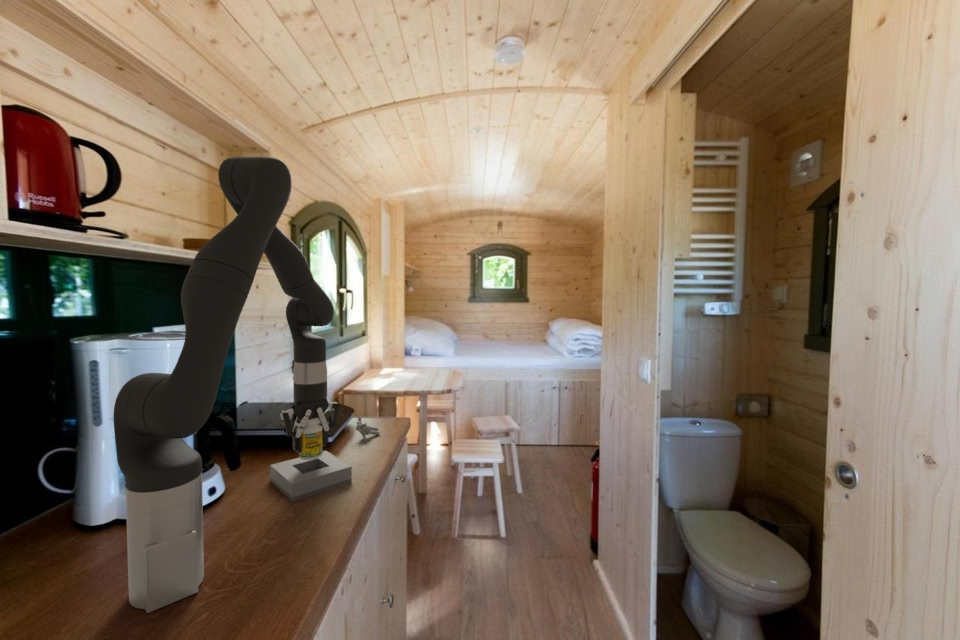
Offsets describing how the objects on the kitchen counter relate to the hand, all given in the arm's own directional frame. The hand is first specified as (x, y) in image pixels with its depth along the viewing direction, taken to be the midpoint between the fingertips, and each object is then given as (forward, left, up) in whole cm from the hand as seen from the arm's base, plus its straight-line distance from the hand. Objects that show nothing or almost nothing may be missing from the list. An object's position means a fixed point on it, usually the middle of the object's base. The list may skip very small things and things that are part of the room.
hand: (310, 448), depth 100 cm
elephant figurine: (+19, -26, -9) cm, 34 cm away
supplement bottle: (0, 0, -2) cm, 2 cm away
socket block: (0, 0, -8) cm, 8 cm away
